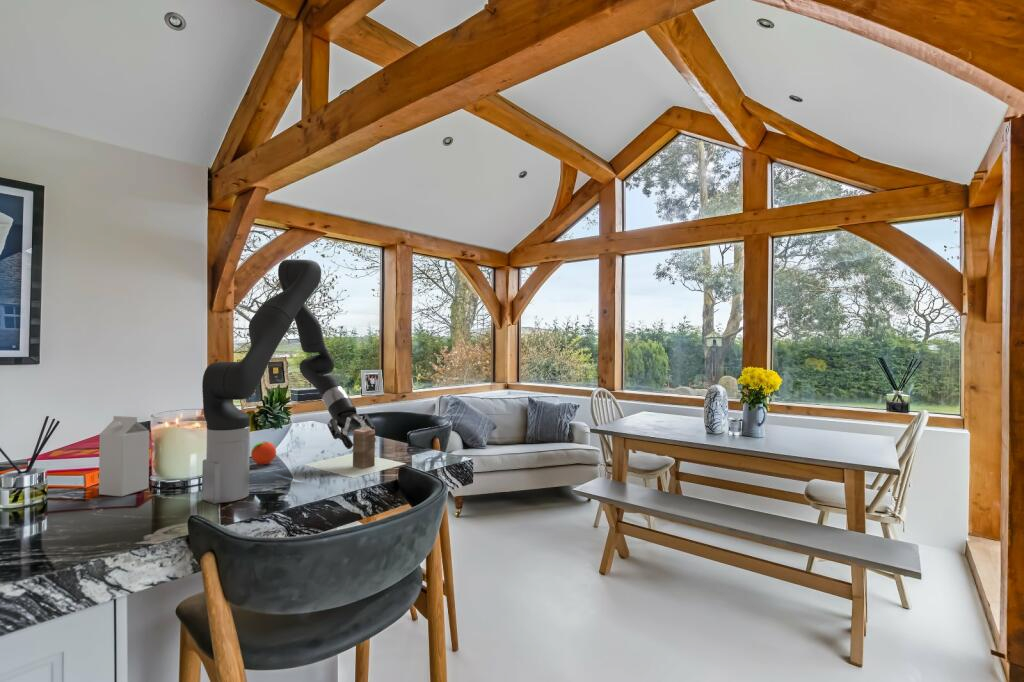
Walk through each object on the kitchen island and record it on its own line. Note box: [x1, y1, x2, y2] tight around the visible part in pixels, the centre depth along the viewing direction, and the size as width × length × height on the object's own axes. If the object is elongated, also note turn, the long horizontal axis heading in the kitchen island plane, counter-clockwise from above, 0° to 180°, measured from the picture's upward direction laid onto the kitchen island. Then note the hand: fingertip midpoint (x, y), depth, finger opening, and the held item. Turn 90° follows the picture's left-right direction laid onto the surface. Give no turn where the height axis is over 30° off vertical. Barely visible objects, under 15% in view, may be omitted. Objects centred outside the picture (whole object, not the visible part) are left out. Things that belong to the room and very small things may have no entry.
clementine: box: [250, 441, 277, 466], centre depth 154 cm, size 8×7×7 cm
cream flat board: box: [303, 453, 407, 479], centre depth 153 cm, size 20×24×1 cm
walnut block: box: [352, 428, 376, 469], centre depth 151 cm, size 4×4×11 cm
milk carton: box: [98, 415, 150, 497], centre depth 125 cm, size 7×7×19 cm
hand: (362, 445), depth 152 cm, fingers open, 8 cm apart
